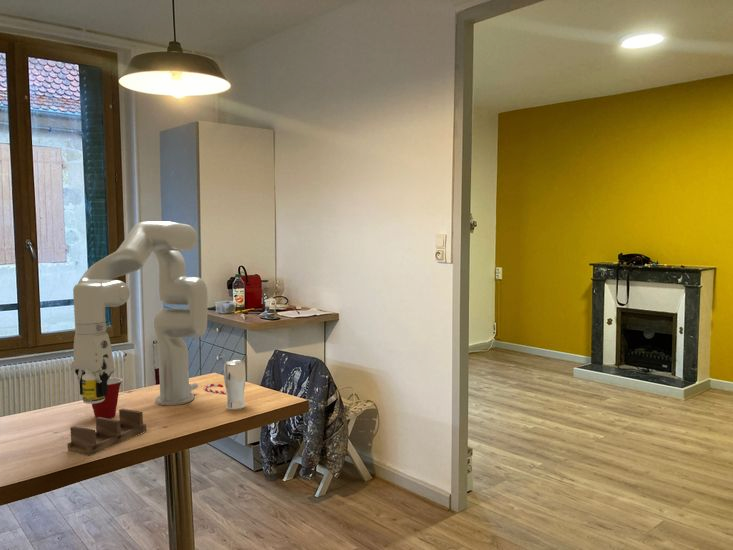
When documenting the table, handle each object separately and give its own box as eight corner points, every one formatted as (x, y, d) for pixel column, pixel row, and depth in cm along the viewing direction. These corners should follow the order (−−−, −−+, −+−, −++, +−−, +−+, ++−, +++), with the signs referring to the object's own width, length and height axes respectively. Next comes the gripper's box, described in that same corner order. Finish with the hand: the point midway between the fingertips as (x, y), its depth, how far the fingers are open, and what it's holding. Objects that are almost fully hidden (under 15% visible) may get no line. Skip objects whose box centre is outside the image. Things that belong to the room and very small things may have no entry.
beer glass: (239, 411, 191) (238, 365, 190) (220, 409, 193) (219, 364, 192) (250, 405, 197) (249, 360, 196) (232, 403, 200) (230, 359, 198)
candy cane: (222, 394, 208) (198, 386, 218) (222, 397, 208) (198, 390, 218) (240, 389, 213) (216, 382, 223) (240, 393, 213) (216, 385, 223)
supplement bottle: (78, 403, 159) (76, 367, 159) (94, 397, 164) (92, 362, 164) (93, 405, 157) (92, 368, 157) (109, 399, 162) (107, 364, 162)
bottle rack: (126, 427, 177) (125, 407, 176) (146, 431, 173) (145, 410, 173) (67, 451, 158) (66, 428, 158) (89, 456, 155) (87, 433, 155)
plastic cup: (131, 412, 191) (129, 375, 190) (111, 423, 181) (109, 384, 180) (100, 410, 193) (99, 374, 192) (79, 421, 183) (77, 383, 182)
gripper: (125, 328, 159) (128, 394, 161) (80, 324, 166) (83, 388, 168) (102, 333, 152) (105, 402, 154) (56, 329, 159) (59, 395, 161)
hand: (93, 394), depth 161 cm, fingers closed on supplement bottle, 5 cm apart
